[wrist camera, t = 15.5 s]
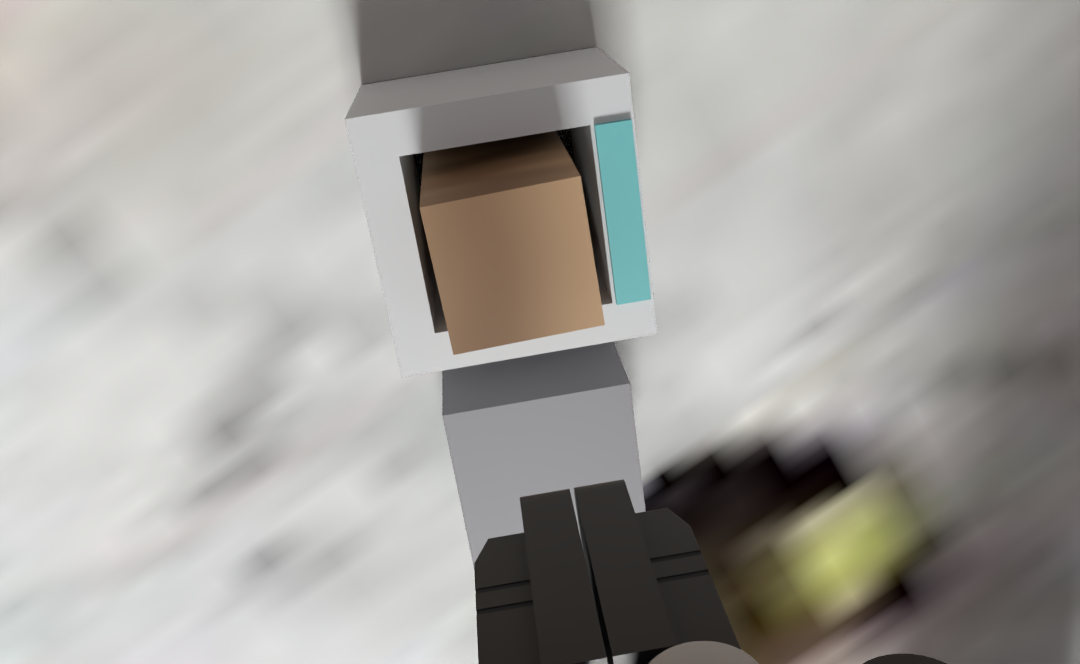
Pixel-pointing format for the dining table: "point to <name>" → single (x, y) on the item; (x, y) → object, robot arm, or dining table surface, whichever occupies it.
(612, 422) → the gray square block
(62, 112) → the dining table surface
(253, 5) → the dining table surface
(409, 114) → the white microwave oven
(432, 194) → the block
